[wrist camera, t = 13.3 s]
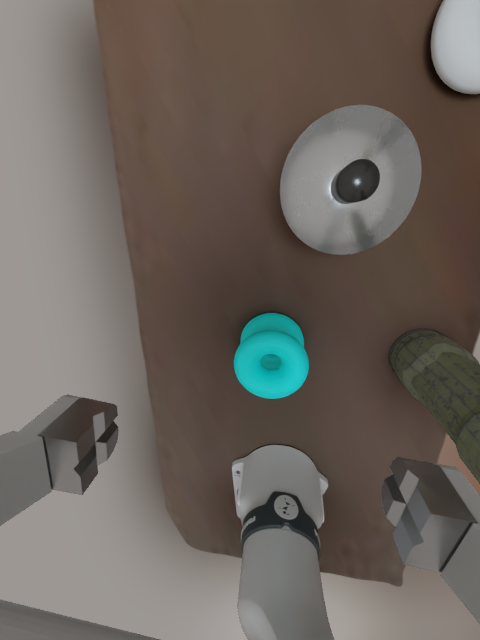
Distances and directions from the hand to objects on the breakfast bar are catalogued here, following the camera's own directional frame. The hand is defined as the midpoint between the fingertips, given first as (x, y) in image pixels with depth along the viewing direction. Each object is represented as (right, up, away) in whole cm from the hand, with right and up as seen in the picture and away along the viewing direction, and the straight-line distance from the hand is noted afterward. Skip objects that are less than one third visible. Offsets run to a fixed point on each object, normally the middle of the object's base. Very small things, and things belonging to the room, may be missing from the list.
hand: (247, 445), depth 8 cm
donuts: (+5, +1, +37) cm, 37 cm away
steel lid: (+10, +17, +20) cm, 28 cm away
